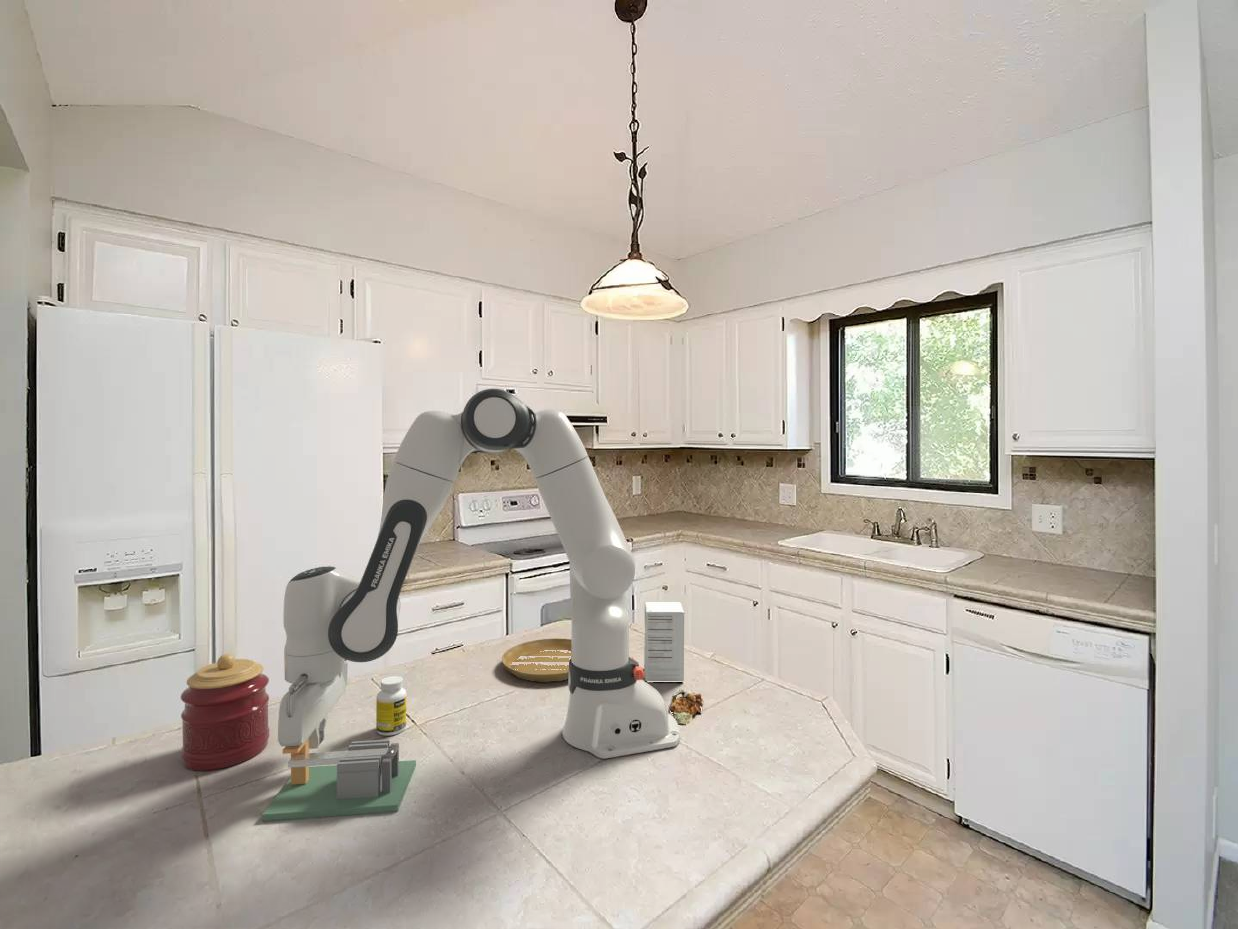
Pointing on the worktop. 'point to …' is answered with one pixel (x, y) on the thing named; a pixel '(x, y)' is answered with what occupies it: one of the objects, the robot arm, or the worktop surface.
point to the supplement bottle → (391, 707)
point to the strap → (338, 756)
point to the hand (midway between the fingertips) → (316, 744)
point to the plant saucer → (539, 659)
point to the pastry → (685, 706)
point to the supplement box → (664, 641)
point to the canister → (224, 714)
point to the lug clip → (298, 773)
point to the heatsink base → (327, 794)
